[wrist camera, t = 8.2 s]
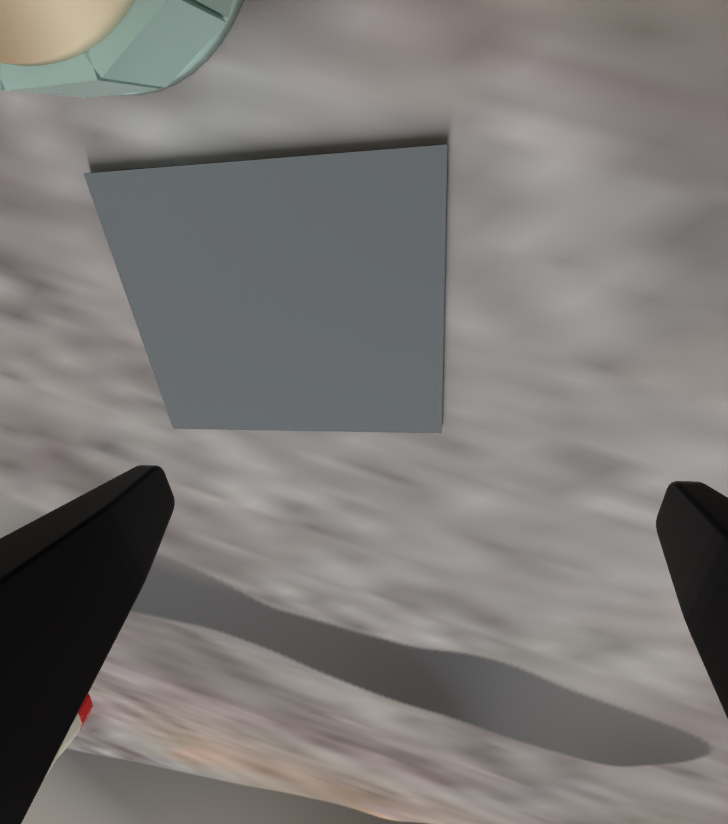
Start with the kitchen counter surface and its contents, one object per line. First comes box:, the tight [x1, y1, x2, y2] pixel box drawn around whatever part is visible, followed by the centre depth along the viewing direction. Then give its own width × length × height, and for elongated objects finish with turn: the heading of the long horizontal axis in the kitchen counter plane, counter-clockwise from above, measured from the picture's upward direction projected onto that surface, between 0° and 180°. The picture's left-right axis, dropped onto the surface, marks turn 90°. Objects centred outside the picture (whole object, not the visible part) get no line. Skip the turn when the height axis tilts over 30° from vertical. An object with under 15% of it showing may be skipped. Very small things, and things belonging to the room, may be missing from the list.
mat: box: [84, 144, 447, 433], centre depth 20 cm, size 14×12×1 cm
